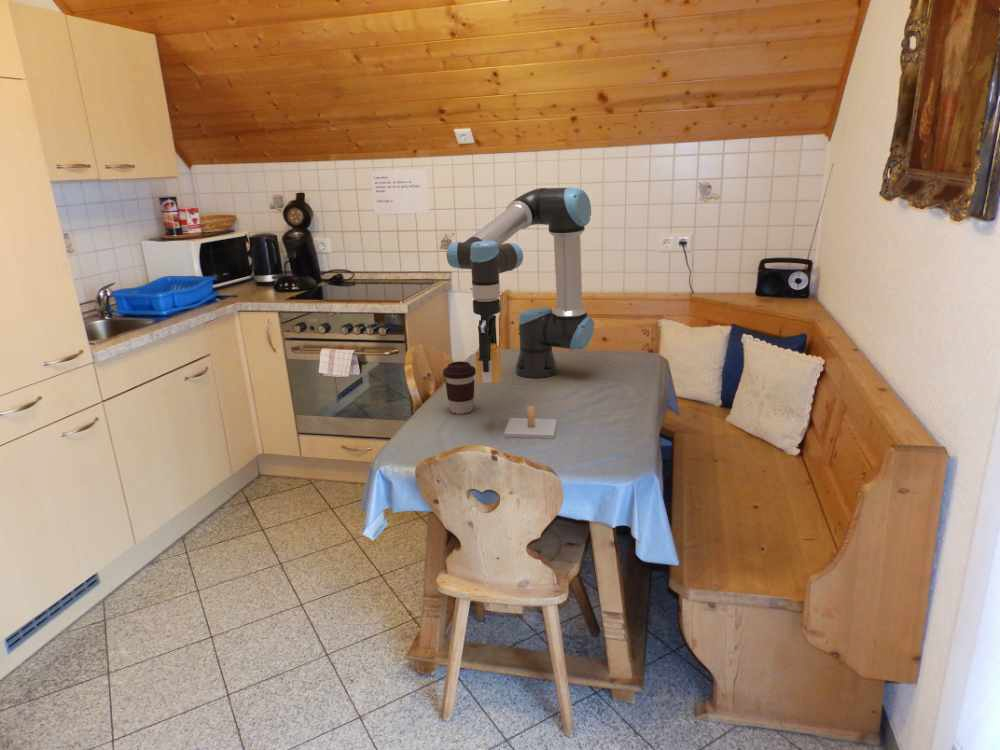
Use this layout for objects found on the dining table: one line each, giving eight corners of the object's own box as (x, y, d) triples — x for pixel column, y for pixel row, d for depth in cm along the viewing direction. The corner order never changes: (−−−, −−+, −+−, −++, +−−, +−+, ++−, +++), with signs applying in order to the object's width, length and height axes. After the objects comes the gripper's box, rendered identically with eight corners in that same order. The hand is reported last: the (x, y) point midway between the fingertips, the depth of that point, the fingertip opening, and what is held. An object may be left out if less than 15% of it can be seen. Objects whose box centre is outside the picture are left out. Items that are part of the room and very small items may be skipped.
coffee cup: (453, 418, 204) (450, 371, 200) (440, 408, 213) (437, 363, 208) (482, 412, 208) (480, 365, 204) (469, 402, 217) (466, 357, 212)
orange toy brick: (481, 375, 196) (479, 341, 193) (501, 376, 195) (500, 342, 192) (477, 382, 190) (475, 347, 187) (498, 382, 189) (496, 347, 186)
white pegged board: (510, 420, 201) (509, 398, 199) (557, 422, 198) (557, 400, 196) (503, 436, 190) (503, 413, 187) (553, 438, 187) (553, 415, 185)
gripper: (480, 291, 195) (483, 368, 202) (465, 306, 177) (469, 389, 184) (505, 291, 194) (508, 368, 201) (493, 306, 176) (496, 389, 183)
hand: (489, 378), depth 193 cm, fingers closed on orange toy brick, 6 cm apart
